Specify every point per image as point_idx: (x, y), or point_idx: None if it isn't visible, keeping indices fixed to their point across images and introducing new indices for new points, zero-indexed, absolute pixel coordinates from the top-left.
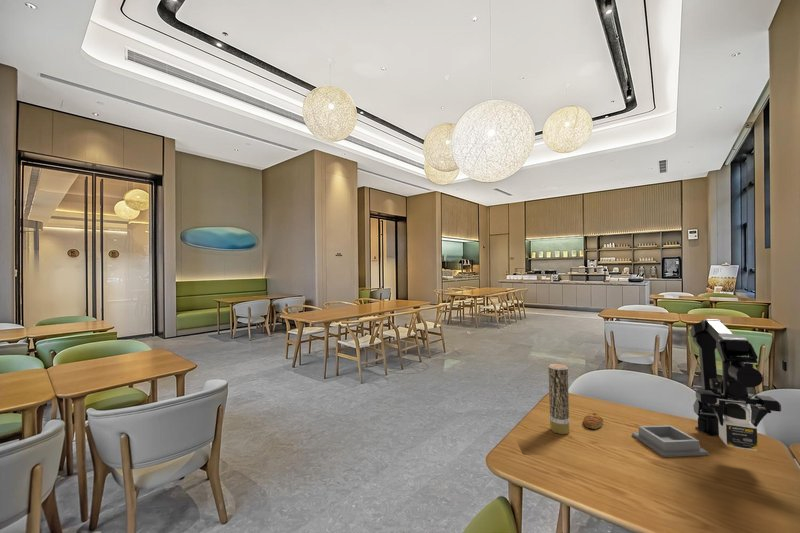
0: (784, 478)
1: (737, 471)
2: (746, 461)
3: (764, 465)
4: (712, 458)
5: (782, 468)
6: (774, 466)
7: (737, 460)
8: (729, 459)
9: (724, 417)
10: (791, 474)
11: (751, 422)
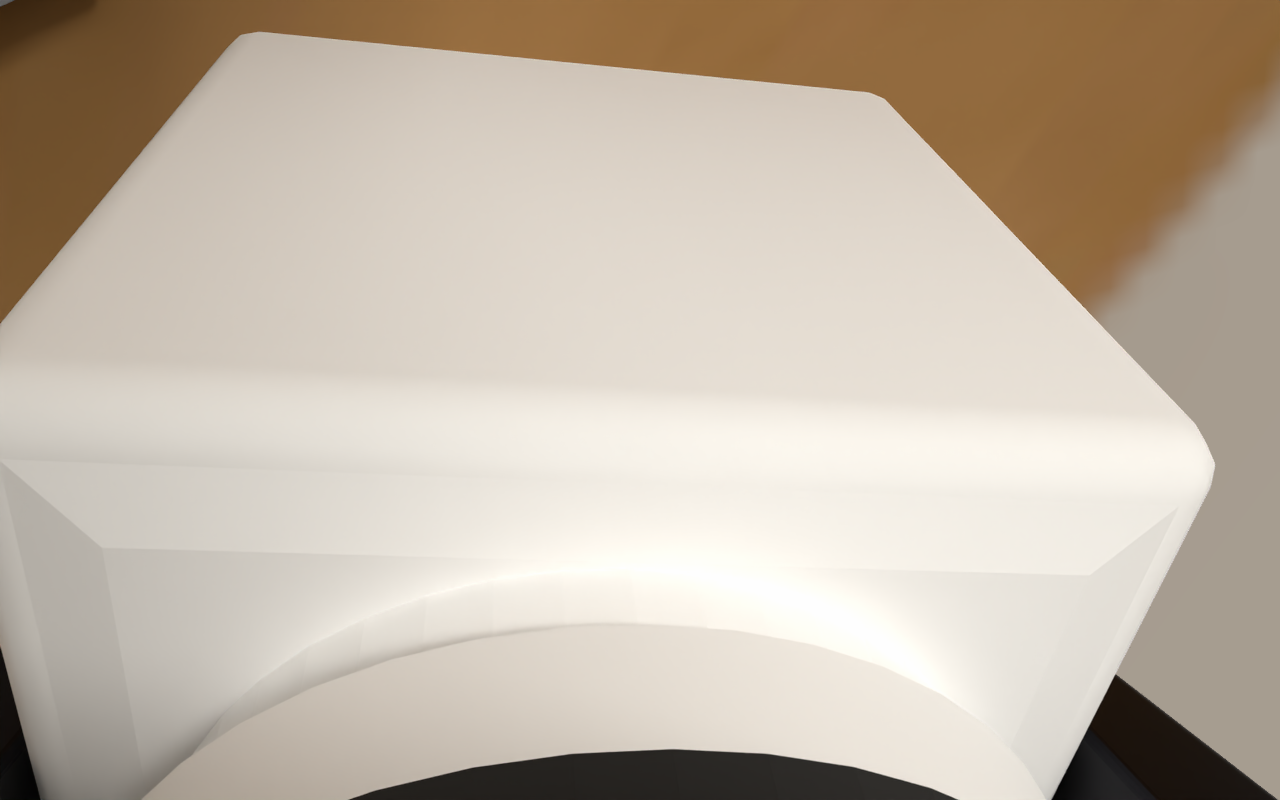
0: None
1: None
2: (725, 4)
3: (940, 71)
4: (167, 80)
5: (1155, 91)
6: (1081, 55)
7: (585, 14)
8: (459, 18)
9: (170, 745)
10: (1128, 254)
11: (1080, 795)
